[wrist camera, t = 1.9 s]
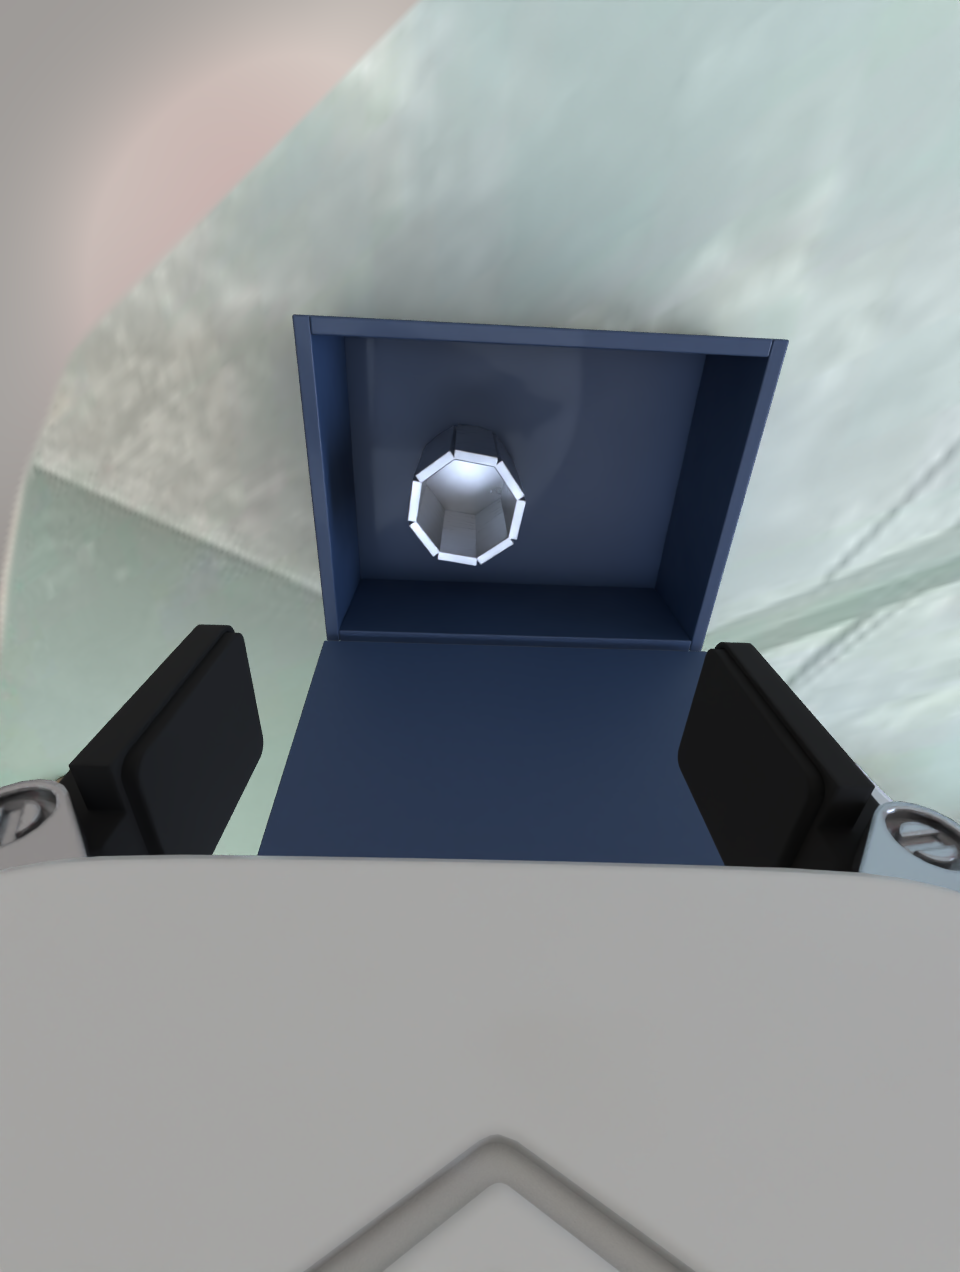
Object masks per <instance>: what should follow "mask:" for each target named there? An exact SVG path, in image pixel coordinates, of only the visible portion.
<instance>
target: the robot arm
mask: <svg viewBox="0 0 960 1272" xmlns="http://www.w3.org/2000/svg"><path fill="white" fill-rule="evenodd" d="M262 750H263V735H262V730H261V725H260V720H259V715H258V710H257V704H256V699H255V694H254V689H253V684H252V678H251V673H250V668H249V663H248V658H247V653H246V647H245V642H244V638H243V636H242V634H240V633H235V632H234V630H233V628H232V627H231V626H230V625H203V624H201V625H198V626H196V627H195V628H194V629H193V631H192V632H191V633H190V634H189V635H188V636H187V637H186V638H185V639H184V640H183V641H182V642H181V644H180V645H179V646H178V647H177V648H176V649H175V650H174V651H173V652H172V653H171V654H170V655H169V657H168V658H167V659H166V660H165V661H164V662H163V663H162V664H161V665H160V666H159V667H158V669H157V670H156V671H155V672H154V673H153V674H152V675H151V676H150V677H149V678H148V679H147V680H146V682H145V683H144V684H143V685H142V686H141V687H140V688H139V689H138V690H137V691H136V692H135V694H134V695H133V696H132V697H131V698H130V699H129V700H128V701H127V702H126V703H125V704H124V705H123V707H122V708H121V709H120V710H119V711H118V712H117V713H116V714H115V715H114V716H113V717H112V719H111V720H110V721H109V722H108V723H107V724H106V725H105V726H104V727H103V728H102V729H101V730H100V732H99V733H98V734H97V735H96V736H95V737H94V738H93V739H92V740H91V741H90V742H89V743H88V745H87V746H86V747H85V748H84V749H83V750H82V751H81V752H80V753H79V754H78V755H77V757H76V758H75V759H74V760H73V761H72V762H71V763H70V764H69V768H70V770H69V771H68V773H67V774H66V775H65V776H64V777H63V778H62V779H61V780H60V781H59V782H55V781H52V780H41V779H37V780H29V781H21V782H18V783H14V784H11V785H7V786H4V787H1V788H0V1272H960V825H959V824H958V823H956V822H955V821H953V820H952V819H950V818H948V817H946V816H944V815H942V814H940V813H938V812H936V811H934V810H932V809H929V808H926V807H923V806H920V805H917V804H913V803H907V802H901V801H898V802H886V803H884V804H882V805H880V804H879V803H878V802H877V800H876V799H875V798H874V797H873V796H872V795H871V794H872V792H873V790H874V788H875V786H874V784H873V783H872V782H871V781H870V780H869V779H868V777H867V776H866V775H865V774H864V773H863V772H862V771H861V769H860V768H859V767H858V766H857V765H856V764H855V762H854V761H853V760H852V759H851V758H850V757H849V756H848V754H847V753H846V752H845V751H844V750H843V749H842V748H841V746H840V745H839V744H838V743H837V742H836V741H835V739H834V738H833V737H832V736H831V735H830V734H829V733H828V731H827V730H826V729H825V728H824V727H823V726H822V724H821V723H820V722H819V721H818V720H817V719H816V718H815V716H814V715H813V714H812V713H811V712H810V711H809V710H808V708H807V707H806V706H805V705H804V704H803V703H802V701H801V700H800V699H799V698H798V697H797V696H796V695H795V693H794V692H793V691H792V690H791V689H790V688H789V686H788V685H787V684H786V683H785V682H784V681H783V680H782V678H781V677H780V676H779V675H778V674H777V673H776V671H775V670H774V669H773V668H772V667H771V666H770V665H769V663H768V662H767V661H766V660H765V659H764V658H763V657H762V655H761V654H760V653H759V652H758V651H757V650H756V648H755V647H754V646H753V645H751V644H750V643H730V642H720V643H719V644H717V646H716V647H715V649H710V650H708V652H707V653H706V656H705V659H704V663H703V666H702V670H701V673H700V677H699V680H698V684H697V687H696V690H695V694H694V697H693V701H692V704H691V708H690V711H689V715H688V718H687V721H686V725H685V728H684V732H683V735H682V739H681V742H680V746H679V749H678V764H679V767H680V770H681V772H682V774H683V776H684V779H685V781H686V783H687V785H688V787H689V789H690V792H691V794H692V796H693V798H694V800H695V802H696V805H697V807H698V809H699V811H700V813H701V815H702V817H703V820H704V822H705V824H706V826H707V828H708V830H709V833H710V835H711V837H712V839H713V841H714V843H715V846H716V848H717V850H718V852H719V854H720V856H721V858H722V861H723V863H724V865H725V866H712V865H676V864H640V863H603V862H565V861H522V860H477V859H429V858H377V857H315V856H254V855H212V854H213V852H214V850H215V848H216V846H217V844H218V842H219V840H220V838H221V836H222V834H223V832H224V830H225V828H226V826H227V824H228V822H229V820H230V818H231V816H232V814H233V812H234V809H235V807H236V805H237V803H238V801H239V799H240V797H241V795H242V793H243V791H244V789H245V787H246V785H247V783H248V781H249V779H250V777H251V775H252V773H253V771H254V769H255V767H256V765H257V763H258V761H259V759H260V757H261V754H262Z"/></svg>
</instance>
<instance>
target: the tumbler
mask: <svg viewBox="0 0 960 1272" xmlns="http://www.w3.org/2000/svg"><path fill="white" fill-rule="evenodd" d="M524 496H525V494H524V491H523V488H522V485H521V482H520V479H519V476H518V473H517V470H516V467H515V464H514V462H513V460H512V459H511V457H510V455H509V454H508V452H507V450H506V448H505V446H504V445H503V444H502V442H501V441H500V440H499V438H498V437H497V435H496V434H494V435H493V434H492V431H489V430H485V429H483V428H480V427H476V426H470V425H457V426H456V427H454V426H452V427H450V428H449V429H447V430H445V431H443V432H442V433H440V434H439V435H438V436H437V437H435V438H434V439H433V441H431V442H430V443H429V444H427V445H426V446H425V449H424V450H423V452H422V454H421V457H420V460H419V463H418V466H417V468H416V471H415V474H414V477H413V480H412V485H411V493H410V501H409V509H408V517H407V521H410V523H409V527H410V528H411V529H412V531H413V532H414V533H415V535H416V536H417V537H418V538H419V540H420V541H421V542H422V544H423V545H424V546H425V547H426V549H427V550H428V551H429V553H430V554H431V555H432V556H433V557H434V556H436V555H437V554H438V556H437V559H438V560H443V561H449V562H455V563H460V564H466V565H472V566H476V565H477V561H478V562H479V564H480V565H482V564H484V563H485V562H487V561H488V560H490V559H491V558H493V557H494V556H496V555H498V554H499V553H501V552H502V551H504V550H505V549H507V548H508V547H510V546H511V545H513V544H514V542H513V539H514V540H517V537H518V533H519V529H520V524H521V520H522V516H523V511H524V507H525V503H526V500H525V497H524Z"/></svg>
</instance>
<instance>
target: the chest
mask: <svg viewBox="0 0 960 1272" xmlns="http://www.w3.org/2000/svg"><path fill="white" fill-rule="evenodd" d="M292 317H293V327H294V336H295V345H296V355H297V364H298V373H299V383H300V392H301V401H302V410H303V420H304V429H305V438H306V448H307V457H308V466H309V476H310V485H311V494H312V503H313V513H314V522H315V531H316V541H317V550H318V559H319V569H320V578H321V587H322V596H323V606H324V615H325V624H326V634H327V640H328V641H356V642H391V643H425V644H460V645H495V646H530V647H565V648H599V649H634V650H669V651H701V649H702V646H703V642H704V639H705V635H706V632H707V628H708V625H709V621H710V618H711V614H712V610H713V607H714V603H715V600H716V596H717V593H718V589H719V586H720V582H721V579H722V575H723V572H724V568H725V565H726V561H727V558H728V554H729V551H730V547H731V544H732V540H733V537H734V533H735V529H736V526H737V522H738V519H739V515H740V512H741V508H742V505H743V501H744V498H745V494H746V491H747V487H748V484H749V480H750V477H751V473H752V470H753V466H754V463H755V459H756V456H757V452H758V449H759V445H760V441H761V438H762V434H763V431H764V427H765V424H766V420H767V417H768V413H769V410H770V406H771V403H772V399H773V396H774V392H775V389H776V385H777V382H778V378H779V375H780V371H781V368H782V364H783V360H784V357H785V353H786V350H787V346H788V343H789V340H785V339H765V338H746V337H726V336H706V335H687V334H667V333H648V332H628V331H609V330H589V329H569V328H550V327H530V326H511V325H491V324H471V323H452V322H432V321H413V320H393V319H374V318H354V317H334V316H315V315H295V314H294V315H293V316H292ZM457 425H470V426H476V427H480V428H483V429H485V430H489V431H492V434H493V435H494V434H496V435H497V437H498V438H499V440H500V441H501V442H502V444H503V445H504V446H505V448H506V450H507V452H508V454H509V455H510V457H511V459H512V460H513V462H514V464H515V467H516V470H517V473H518V476H519V479H520V482H521V485H522V488H523V491H524V494H525V496H524V497H525V500H526V503H525V507H524V511H523V516H522V520H521V524H520V529H519V533H518V537H517V540H514V539H513V542H514V544H513V545H511V546H510V547H508V548H507V549H505V550H504V551H502V552H501V553H499V554H498V555H496V556H494V557H493V558H491V559H490V560H488V561H487V562H485V563H484V564H482V565H480V564H479V562H478V561H477V565H476V566H472V565H466V564H460V563H455V562H449V561H443V560H438V559H437V556H438V554H437V555H436V556H434V557H433V556H432V555H431V554H430V553H429V551H428V550H427V549H426V547H425V546H424V545H423V544H422V542H421V541H420V540H419V538H418V537H417V536H416V535H415V533H414V532H413V531H412V529H411V528H410V527H409V523H410V521H407V517H408V509H409V501H410V493H411V485H412V480H413V477H414V474H415V471H416V468H417V466H418V463H419V460H420V457H421V454H422V452H423V450H424V449H425V446H426V445H427V444H429V443H430V442H431V441H433V439H434V438H435V437H437V436H438V435H439V434H440V433H442V432H443V431H445V430H447V429H449V428H450V427H452V426H454V427H456V426H457Z"/></svg>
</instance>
